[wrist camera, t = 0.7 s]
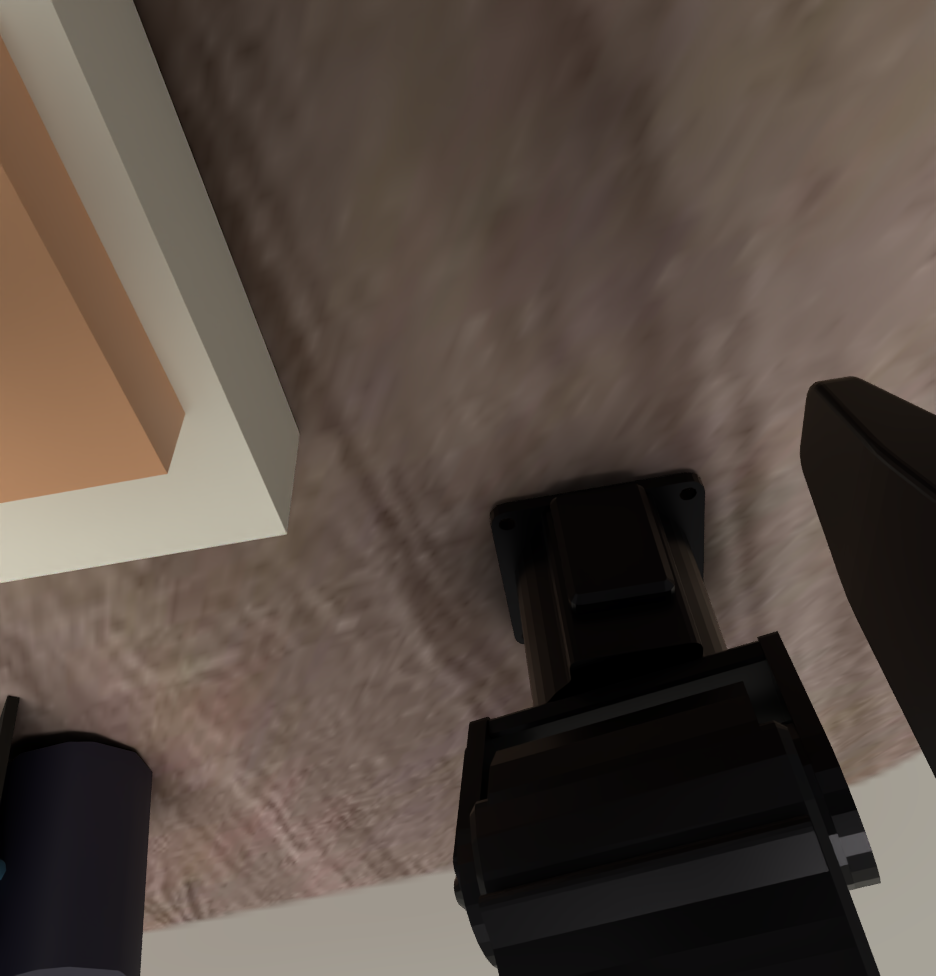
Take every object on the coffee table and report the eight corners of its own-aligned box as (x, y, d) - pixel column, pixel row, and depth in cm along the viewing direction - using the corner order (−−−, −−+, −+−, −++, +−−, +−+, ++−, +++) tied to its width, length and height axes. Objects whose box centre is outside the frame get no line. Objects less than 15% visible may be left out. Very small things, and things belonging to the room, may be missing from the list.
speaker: (-74, 762, 33) (-168, 1077, 26) (10, 692, 31) (-67, 1013, 24) (103, 810, 38) (65, 1089, 31) (186, 752, 36) (167, 1036, 29)
